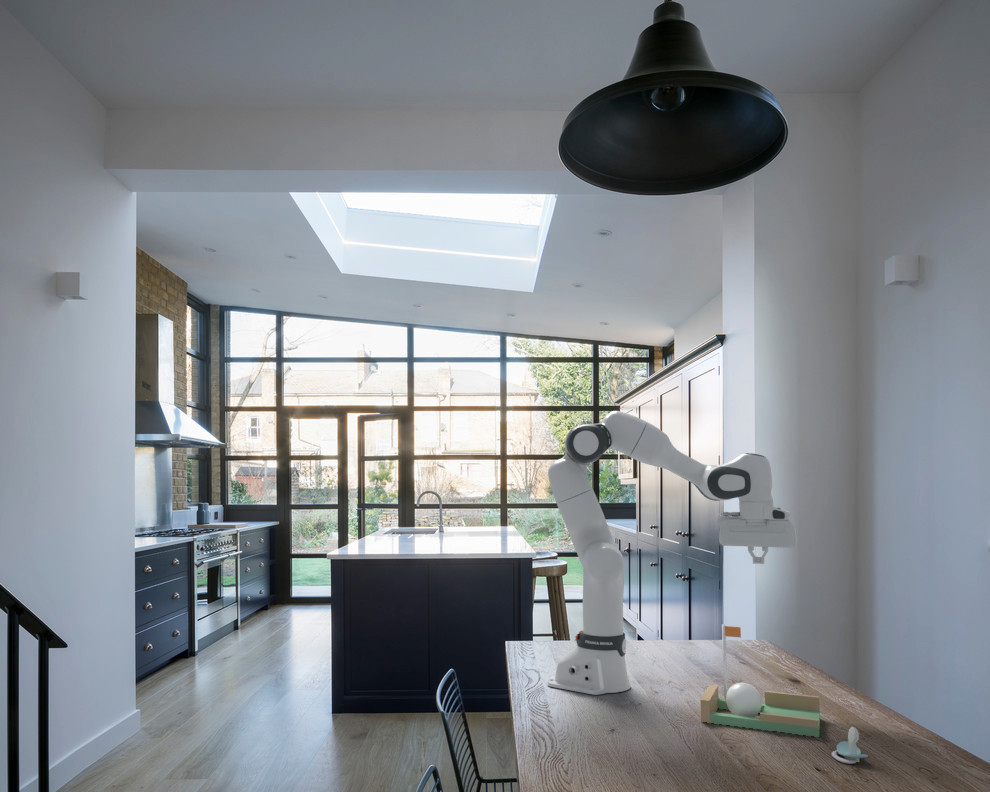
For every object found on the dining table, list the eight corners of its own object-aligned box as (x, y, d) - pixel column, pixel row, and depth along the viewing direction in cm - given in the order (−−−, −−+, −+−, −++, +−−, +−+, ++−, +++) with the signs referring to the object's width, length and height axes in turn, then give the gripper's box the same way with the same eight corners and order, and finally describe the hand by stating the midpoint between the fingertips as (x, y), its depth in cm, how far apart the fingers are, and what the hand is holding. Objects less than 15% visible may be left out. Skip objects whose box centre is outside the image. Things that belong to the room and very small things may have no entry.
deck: (701, 722, 170) (698, 633, 172) (710, 705, 182) (707, 622, 185) (819, 737, 159) (814, 642, 162) (820, 718, 172) (815, 630, 174)
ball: (767, 706, 167) (744, 731, 168) (770, 697, 174) (748, 721, 176) (738, 679, 170) (716, 704, 172) (743, 671, 177) (721, 695, 179)
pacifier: (841, 767, 144) (872, 766, 143) (838, 733, 144) (869, 733, 144) (826, 753, 151) (855, 752, 151) (823, 721, 152) (853, 721, 151)
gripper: (715, 512, 203) (717, 563, 201) (795, 513, 194) (798, 566, 193) (718, 511, 209) (720, 561, 207) (796, 512, 200) (799, 564, 198)
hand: (758, 563), depth 200 cm, fingers closed
